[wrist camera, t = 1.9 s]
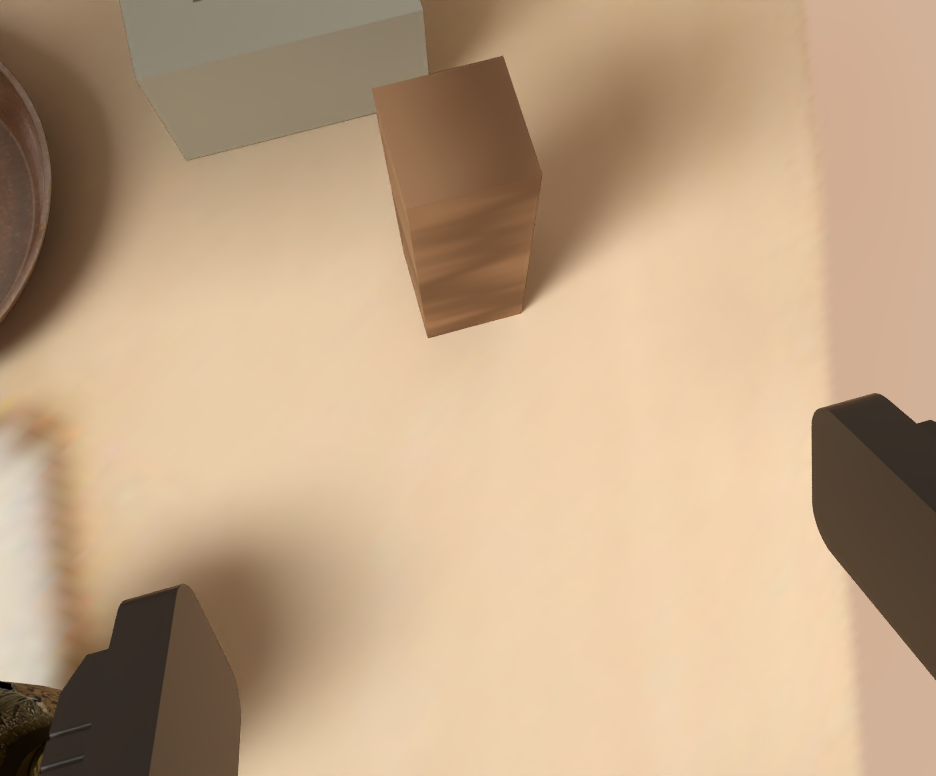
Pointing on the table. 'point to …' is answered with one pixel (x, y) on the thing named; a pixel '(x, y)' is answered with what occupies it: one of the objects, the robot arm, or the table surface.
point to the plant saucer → (20, 189)
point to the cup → (24, 726)
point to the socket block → (268, 64)
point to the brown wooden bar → (461, 191)
